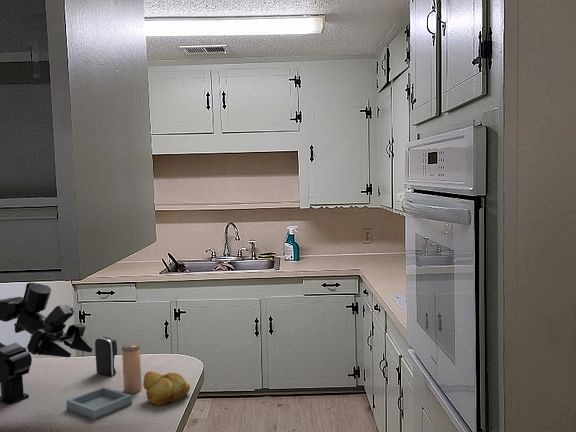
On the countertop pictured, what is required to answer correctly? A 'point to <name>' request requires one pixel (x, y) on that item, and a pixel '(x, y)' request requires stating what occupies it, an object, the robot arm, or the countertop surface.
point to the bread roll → (165, 387)
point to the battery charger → (105, 355)
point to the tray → (99, 402)
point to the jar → (131, 368)
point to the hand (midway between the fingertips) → (81, 353)
